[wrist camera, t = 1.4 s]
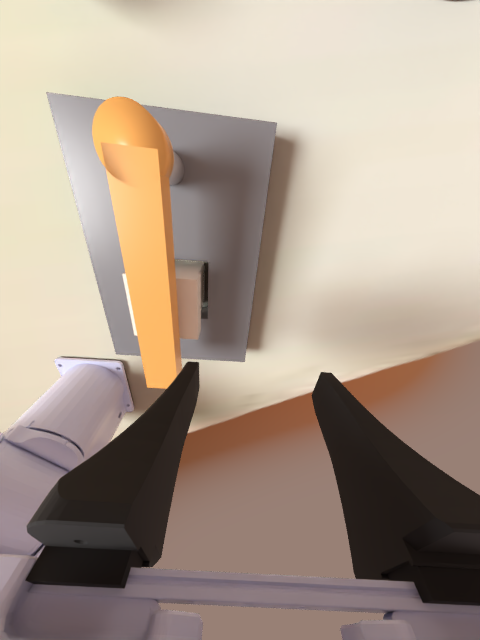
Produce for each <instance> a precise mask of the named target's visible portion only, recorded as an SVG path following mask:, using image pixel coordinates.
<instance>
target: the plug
mask: <svg viewBox="0 0 480 640" xmlns="http://www.w3.org/2000/svg"><path fill="white" fill-rule="evenodd" d="M175 273H176V289H177V304H178V319H179V334H180V338H181V339H196V340H198V338H199V334H200V331H201V309H202V306H203V303H204V262H197V261H185V260H175ZM122 275H123V280H124V285H125V290H126V295H127V300H128V305H129V310H130V315H131V320H132V325H133V331H134V335H136V336H137V331H136V326H135V321H134V315H133V310H132V305H131V300H130V294H129V289H128V284H127V278H126V273H125V272H124V273H123V274H122Z"/></svg>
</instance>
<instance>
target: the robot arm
mask: <svg viewBox="0 0 480 640" xmlns="http://www.w3.org/2000/svg"><path fill="white" fill-rule="evenodd" d="M54 361H55V364H56V366H57V368H58V370H59V372H60V374H61V377H60V378H59V379H58V380H57V381H56V382H55V383H54V384H53V385H52V386H51V387H50V388H49V389H48V390H47V391H46V392H45V393H44V394H43V395H42V396H41V397H40V398H39V399H38V400H37V401H36V402H35V403H34V404H33V405H32V406H31V407H30V408H28V409H27V410H26V411H25V412H24V413H23V414H22V415H21V416H20V417H19V418H18V419H17V420H16V421H15V422H14V423H13V424H12V425H11V426H10V427H9V428H8V429H7V430H6V431H5V432H3V433H1V432H0V640H201V638H202V628H203V622H202V620H201V617H200V615H199V614H197V613H189V612H182V611H173V610H161V608H160V606H159V604H158V603H177V604H198V605H199V604H201V605H219V606H220V605H221V606H241V607H262V608H285V609H305V610H326V611H347V612H368V613H386V614H385V615H384V617H383V620H368V621H366V620H364V621H360V622H359V623H355V624H350V625H342V626H341V634H342V638H343V640H480V495H478V494H477V493H475V492H474V491H472V490H470V489H469V488H467V487H465V486H464V485H462V484H461V483H459V482H458V481H456V480H455V479H453V478H452V477H450V476H449V475H447V474H446V473H445V472H443V471H442V470H440V469H439V468H437V467H436V466H434V465H433V464H432V463H430V462H429V461H427V460H426V459H425V458H423V457H422V456H421V455H419V454H418V453H417V452H416V451H414V450H413V449H412V448H410V447H409V446H408V445H406V444H405V443H404V442H403V441H401V440H400V439H399V438H398V437H397V436H395V435H394V434H393V433H392V432H391V431H389V430H388V429H387V428H386V427H385V426H384V425H383V424H381V423H380V422H379V421H378V420H377V419H376V418H375V417H374V416H373V415H372V414H371V413H370V412H369V411H368V410H367V409H366V408H365V407H363V405H361V403H359V402H358V400H357V399H356V398H355V397H354V396H353V395H352V394H351V393H350V392H349V391H348V390H347V389H346V388H345V387H344V386H343V385H342V384H341V383H340V381H339V380H338V379H337V378H336V377H335V376H334V375H333V374H332V373H326V372H321V374H320V376H319V379H318V381H317V383H316V386H315V388H314V391H313V393H312V399H313V404H314V409H315V413H316V416H317V419H318V422H319V425H320V428H321V431H322V434H323V437H324V440H325V442H326V445H327V448H328V451H329V454H330V457H331V461H332V464H333V468H334V472H335V476H336V480H337V485H338V489H339V494H340V498H341V503H342V507H343V513H344V518H345V523H346V527H347V533H348V539H349V545H350V550H351V556H352V563H353V570H354V574H355V577H356V579H348V578H326V577H309V576H308V577H307V576H289V575H270V574H269V575H268V574H251V573H250V574H249V573H230V572H212V571H191V570H172V569H154V568H141V567H153V566H154V565H155V564H156V563H157V562H158V560H159V559H160V558H161V555H162V549H163V544H164V538H165V533H166V527H167V522H168V517H169V511H170V507H171V502H172V496H173V492H174V486H175V482H176V476H177V472H178V467H179V463H180V458H181V454H182V449H183V446H184V441H185V439H186V436H187V432H188V429H189V426H190V422H191V419H192V416H193V413H194V409H195V406H196V402H197V397H198V392H199V362H187V363H186V364H185V366H184V367H183V369H182V370H181V372H180V373H179V374H178V376H177V377H176V378H175V380H174V381H173V382H172V383H171V384H170V386H169V387H168V388H167V389H166V390H165V392H164V393H163V394H162V395H161V396H160V397H159V398H158V399H157V400H156V401H155V403H154V404H153V405H152V406H151V407H150V408H149V409H148V410H147V411H146V412H145V413H144V414H143V415H141V416H140V417H139V418H138V419H137V420H136V421H135V422H134V423H133V424H132V425H130V426H129V427H128V428H127V429H126V430H125V431H124V432H122V433H121V434H120V435H119V436H117V437H116V438H115V439H114V440H112V441H111V439H112V437H113V435H114V433H115V431H116V429H117V428H118V426H119V424H120V422H121V420H122V418H123V416H124V414H125V413H126V412H132V411H133V410H134V405H133V402H132V398H131V394H130V390H129V386H128V382H127V378H126V374H125V370H124V366H123V363H122V362H121V361H114V360H97V359H79V358H62V357H58V358H56V359H55V360H54ZM110 441H111V442H110Z"/></svg>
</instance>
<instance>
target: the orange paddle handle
mask: <svg viewBox="0 0 480 640" xmlns="http://www.w3.org/2000/svg"><path fill="white" fill-rule="evenodd" d="M92 136H93V142H94V146H95V149H96V152H97V154H98V156H99V159H100V160H101V162H102V164H103V165H104V167H105V168H106V173H107V179H108V184H109V189H110V194H111V200H112V205H113V210H114V215H115V221H116V226H117V231H118V236H119V242H120V247H121V252H122V257H123V263H124V268H125V273H126V278H127V284H128V289H129V294H130V300H131V305H132V310H133V315H134V321H135V326H136V331H137V336H138V342H139V347H140V352H141V357H142V363H143V368H144V373H145V378H146V384H147V388H166V389H167V388H168V387H169V386H170V384H171V383H172V382H173V381H174V380H175V378H176V377H177V376H178V374H179V373H180V372H181V370H182V364H181V349H180V334H179V319H178V304H177V289H176V273H175V258H174V243H173V228H172V213H171V198H170V182H169V178H170V176H171V173H172V170H173V165H174V154H173V148H172V145H171V141H170V139H169V137H168V135H167V133H166V131H165V130H164V129H163V127H162V126H161V125H160V124H159V123H158V122H157V120H156V119H155V118H154V117H153V116H152V115H151V114H150V113H149V112H148V111H147V110H146V109H145V108H144V107H143V106H142V105H140V104H139V103H137V102H136V101H134V100H132V99H129V98H126V97H112V98H109V99H107V100H106V101H104V102H103V103H102V104H101V105H100V106H99V107H98V109H97V111H96V113H95V116H94V119H93V124H92Z"/></svg>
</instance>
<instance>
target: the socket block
mask: <svg viewBox="0 0 480 640" xmlns="http://www.w3.org/2000/svg"><path fill="white" fill-rule="evenodd" d="M46 93H47V97H48V101H49V104H50V108H51V112H52V116H53V119H54V123H55V127H56V131H57V134H58V138H59V142H60V146H61V149H62V153H63V157H64V161H65V164H66V168H67V172H68V176H69V179H70V183H71V187H72V191H73V194H74V198H75V202H76V206H77V209H78V213H79V217H80V221H81V224H82V228H83V232H84V236H85V239H86V243H87V247H88V251H89V254H90V258H91V262H92V266H93V269H94V273H95V277H96V281H97V284H98V288H99V292H100V296H101V299H102V303H103V307H104V311H105V314H106V318H107V322H108V326H109V329H110V333H111V337H112V341H113V344H114V348H115V352H116V354H120V355H137V356H141V352H140V347H139V342H138V336H136V335H134V331H133V325H132V320H131V315H130V310H129V305H128V300H127V295H126V290H125V285H124V280H123V275H122V274H123V273H124V272H125V268H124V263H123V257H122V252H121V247H120V242H119V236H118V231H117V226H116V221H115V215H114V210H113V205H112V200H111V194H110V189H109V184H108V179H107V173H106V168H105V167H104V165H103V164H102V162H101V160H100V159H99V156H98V154H97V152H96V149H95V146H94V142H93V136H92V124H93V119H94V116H95V113H96V111H97V109H98V107H99V106H100V105H101V104H102V103H103V102H104V101H106V100H102V99H94V98H86V97H79V96H71V95H64V94H56V93H49V92H46ZM142 106H143V107H144V108H145V109H146V110H147V111H148V112H149V113H150V114H151V115H152V116H153V117H154V118H155V119H156V120H157V122H158V123H159V124H160V125H161V126H162V127H163V129H164V130H165V131H166V133H167V135H168V137H169V139H170V141H171V145H172V148H173V154H174V165H173V170H172V173H171V176H170V178H169V182H170V198H171V213H172V228H173V243H174V258H175V259H181V260H192V261H203V262H209V268H208V308H205V307H202V309H201V331H200V334H199V338H198V340H196V339H181V338H180V349H181V358H187V359H203V360H220V361H237V362H245V355H246V348H247V340H248V333H249V325H250V318H251V311H252V303H253V296H254V289H255V281H256V274H257V266H258V259H259V252H260V244H261V237H262V229H263V222H264V215H265V207H266V200H267V193H268V185H269V178H270V170H271V163H272V156H273V148H274V141H275V133H276V126H277V123H275V122H267V121H260V120H252V119H245V118H237V117H230V116H222V115H214V114H207V113H199V112H192V111H184V110H177V109H169V108H162V107H154V106H147V105H142Z"/></svg>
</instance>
